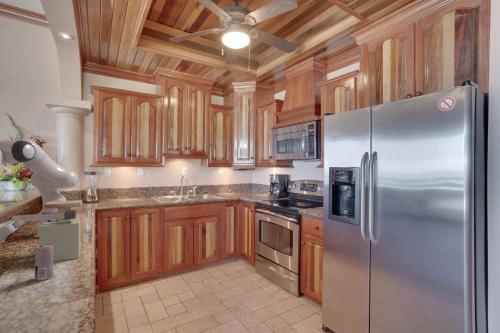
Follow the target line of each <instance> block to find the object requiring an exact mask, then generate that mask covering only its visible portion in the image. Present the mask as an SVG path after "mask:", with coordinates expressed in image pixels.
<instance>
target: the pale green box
mask: <svg viewBox="0 0 500 333" xmlns="http://www.w3.org/2000/svg"><path fill="white" fill-rule="evenodd" d="M38 238H39V239H38V240H39V241H38V243H39V245H38V246H40V245H44V244H52V245H53V263H57V262H62V261H69V260H76V259H77V260H78V259H79V258H80V254H81V251H80V243H81V219H76V220H75V219H71V221H59V222H47V223H43V224H42V225H41V226H40V227H39V237H38Z"/></svg>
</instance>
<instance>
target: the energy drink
mask: <svg viewBox="0 0 500 333" xmlns="http://www.w3.org/2000/svg"><path fill="white" fill-rule="evenodd" d="M34 254H35V255H34V280H35V281H36V282H42V281H43V282H44V281H47V280H50V279H51V278H53V277H54V262H53V245H52V244H44V245H40V246H39V245H37V246H36V247H35V249H34Z"/></svg>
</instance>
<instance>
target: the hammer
mask: <svg viewBox="0 0 500 333" xmlns="http://www.w3.org/2000/svg"><path fill="white" fill-rule="evenodd" d="M27 216H29V217H30V218H31V219H30V220H29V221H28V222H38V221H39V222H40V221H41V220H54V219H64V220H66V219H71V220H75V219H76V218H77V209H71V210H66V211H65V213H50V214H42V213H40V214H39V213H38V214H35V213H34V214H23V215H21V214H20V215H12V217H11V220H12V221H15V222H17V221H19V220H21V219H23V218H25V217H27Z"/></svg>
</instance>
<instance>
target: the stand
mask: <svg viewBox="0 0 500 333" xmlns="http://www.w3.org/2000/svg"><path fill="white" fill-rule="evenodd" d="M82 204H83V200H82V199H80V200H79V199H77V200H66V201H54V202H47V203H46V204H44V209H51V208H57V213H65V211H66V210H72V208H81V207H82ZM59 221H72V219H66V220H64V219H57V222H59ZM82 245H83V244H82V242H80V252H81V251H82V250H81V249H82Z"/></svg>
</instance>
